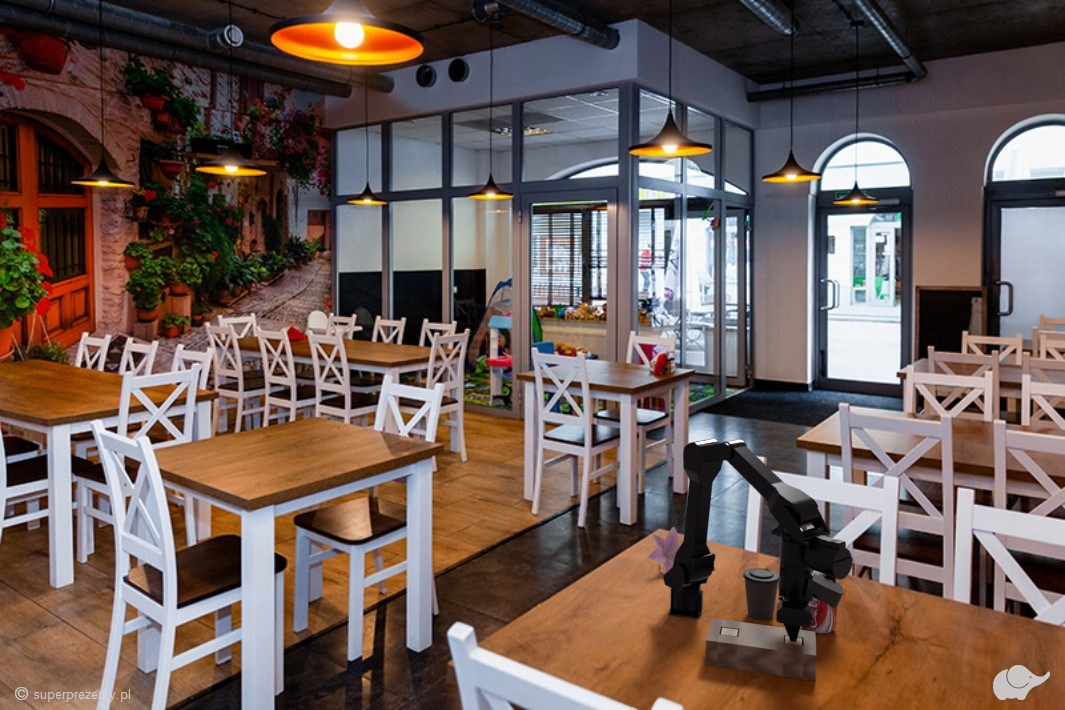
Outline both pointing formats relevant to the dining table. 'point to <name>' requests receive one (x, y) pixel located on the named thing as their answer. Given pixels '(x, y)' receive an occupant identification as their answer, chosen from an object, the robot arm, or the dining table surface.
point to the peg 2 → (798, 642)
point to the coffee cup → (761, 592)
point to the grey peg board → (761, 650)
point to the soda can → (822, 616)
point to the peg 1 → (729, 632)
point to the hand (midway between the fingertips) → (793, 640)
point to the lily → (666, 549)
